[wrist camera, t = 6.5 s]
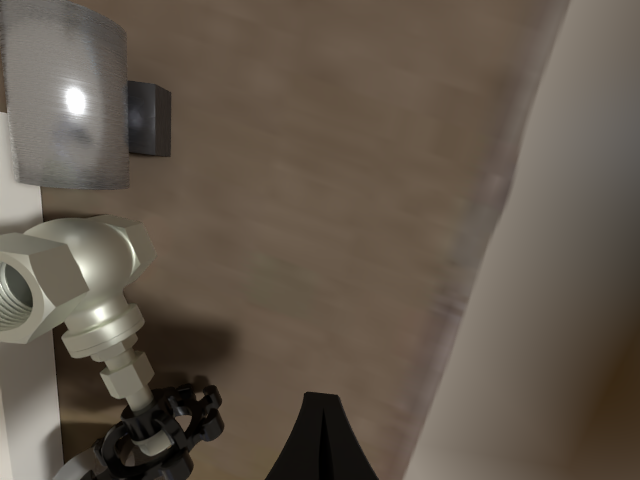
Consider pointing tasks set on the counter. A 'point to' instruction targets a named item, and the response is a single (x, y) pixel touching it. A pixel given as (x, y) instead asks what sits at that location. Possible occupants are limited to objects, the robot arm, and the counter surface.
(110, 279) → the valve
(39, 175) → the pipe stubs
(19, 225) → the bar
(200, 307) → the counter surface
